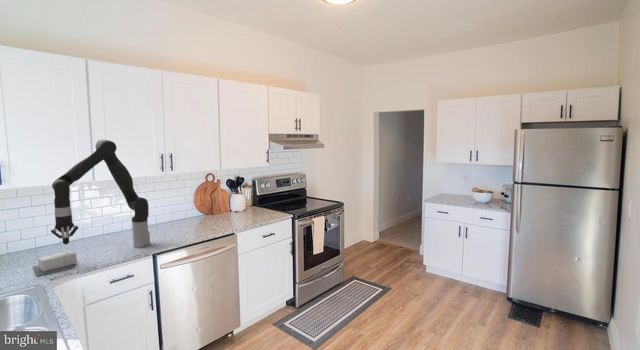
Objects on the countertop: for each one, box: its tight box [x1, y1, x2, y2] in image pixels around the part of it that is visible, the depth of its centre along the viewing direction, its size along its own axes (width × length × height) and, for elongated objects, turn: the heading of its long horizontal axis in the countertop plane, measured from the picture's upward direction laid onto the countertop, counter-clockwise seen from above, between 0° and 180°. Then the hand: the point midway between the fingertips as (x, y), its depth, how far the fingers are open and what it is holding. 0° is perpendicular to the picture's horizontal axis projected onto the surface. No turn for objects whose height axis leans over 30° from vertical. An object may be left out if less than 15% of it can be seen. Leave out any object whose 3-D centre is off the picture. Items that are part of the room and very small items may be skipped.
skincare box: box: [37, 250, 78, 272], centre depth 183 cm, size 8×7×16 cm
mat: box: [32, 264, 75, 278], centre depth 183 cm, size 16×18×1 cm
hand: (66, 244), depth 186 cm, fingers closed
